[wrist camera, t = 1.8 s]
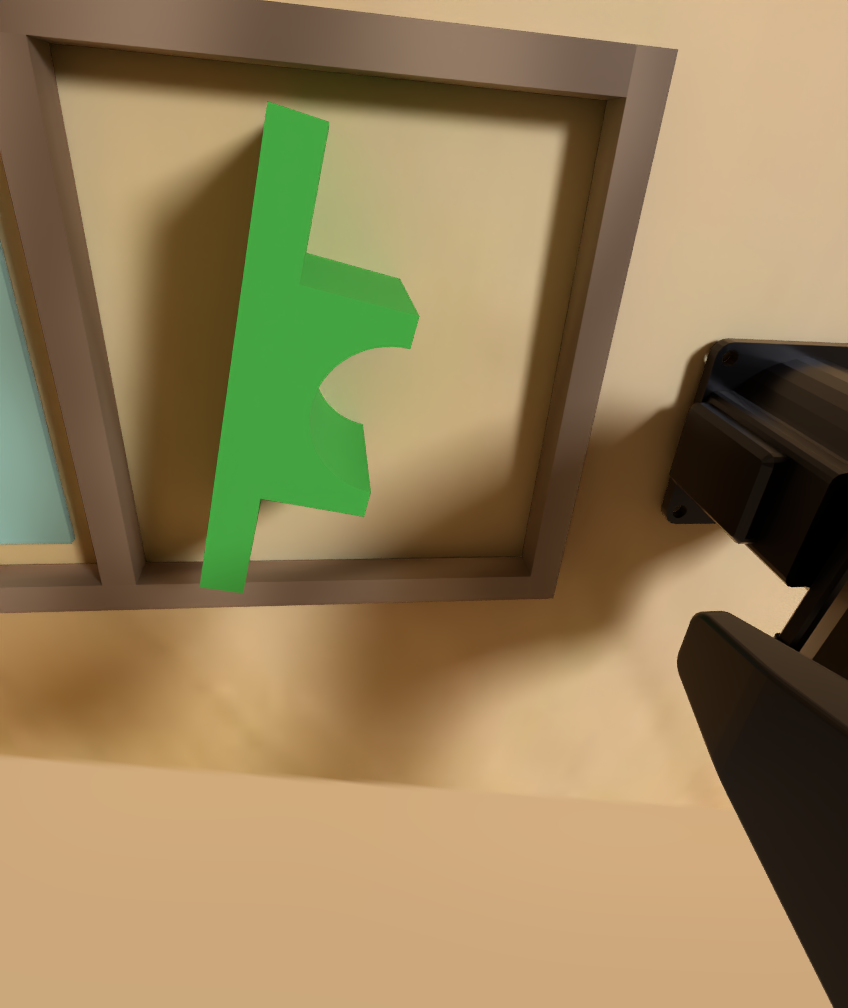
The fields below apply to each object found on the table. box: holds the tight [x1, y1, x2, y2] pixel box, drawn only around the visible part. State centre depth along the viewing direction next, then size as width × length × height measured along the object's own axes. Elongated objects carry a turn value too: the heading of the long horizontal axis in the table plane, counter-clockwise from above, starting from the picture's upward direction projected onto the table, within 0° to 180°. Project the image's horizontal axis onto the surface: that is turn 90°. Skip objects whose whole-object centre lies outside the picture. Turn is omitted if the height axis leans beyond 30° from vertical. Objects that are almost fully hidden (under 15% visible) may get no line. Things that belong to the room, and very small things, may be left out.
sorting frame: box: [0, 0, 678, 613], centre depth 16 cm, size 29×16×1 cm, turn 86°
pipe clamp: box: [200, 101, 419, 593], centre depth 16 cm, size 11×4×5 cm, turn 164°
